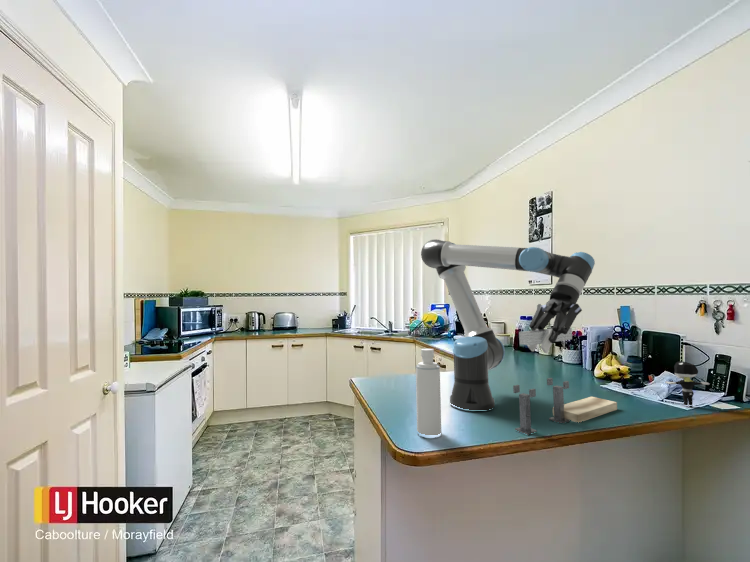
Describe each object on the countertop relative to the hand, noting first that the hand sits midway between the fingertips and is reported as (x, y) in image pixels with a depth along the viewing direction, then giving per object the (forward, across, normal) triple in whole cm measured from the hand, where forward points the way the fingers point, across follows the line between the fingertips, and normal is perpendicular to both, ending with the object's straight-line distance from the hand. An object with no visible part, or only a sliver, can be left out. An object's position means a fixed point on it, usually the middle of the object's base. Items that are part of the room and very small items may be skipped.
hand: (537, 349), depth 98 cm
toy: (-25, -13, -59) cm, 65 cm away
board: (-1, +1, -34) cm, 34 cm away
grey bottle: (+37, +13, +6) cm, 40 cm away
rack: (+15, +1, -17) cm, 23 cm away
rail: (-5, 0, -2) cm, 5 cm away
